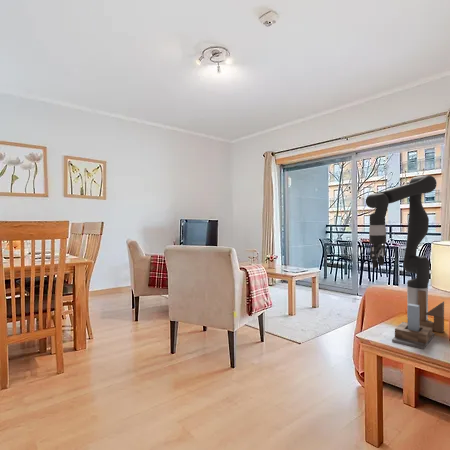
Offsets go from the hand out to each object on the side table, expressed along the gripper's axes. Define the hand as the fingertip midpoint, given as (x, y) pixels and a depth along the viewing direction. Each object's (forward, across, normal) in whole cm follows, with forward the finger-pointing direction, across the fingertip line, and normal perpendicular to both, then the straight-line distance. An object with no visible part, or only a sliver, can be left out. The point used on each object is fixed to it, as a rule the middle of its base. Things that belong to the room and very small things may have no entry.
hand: (378, 266), depth 158 cm
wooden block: (+30, +10, -20) cm, 37 cm away
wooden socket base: (+30, -7, -17) cm, 35 cm away
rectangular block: (+29, -7, -17) cm, 34 cm away
